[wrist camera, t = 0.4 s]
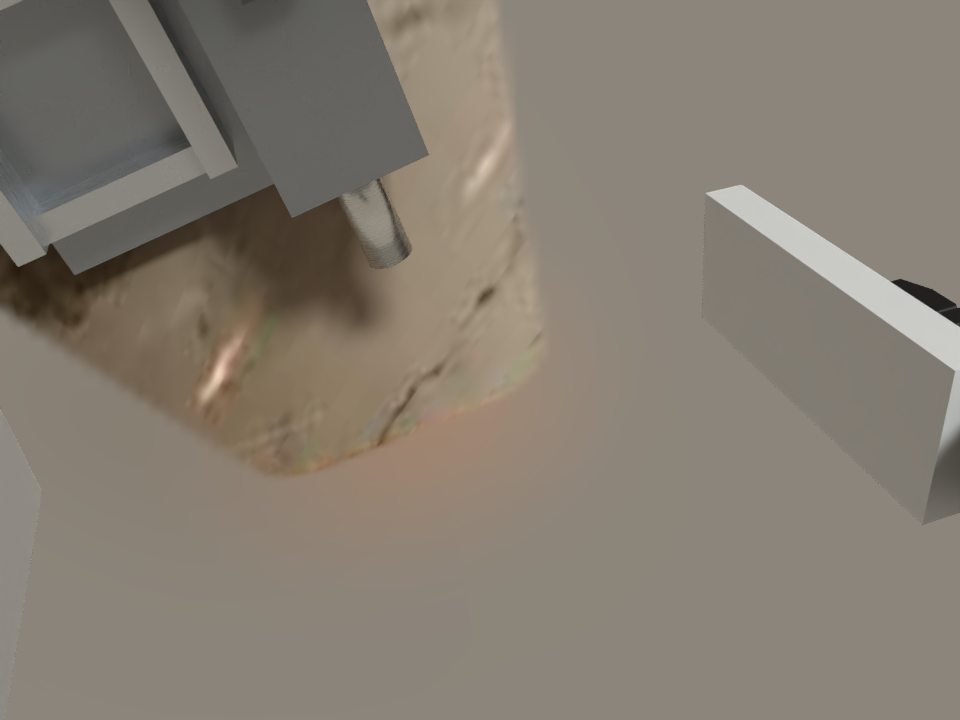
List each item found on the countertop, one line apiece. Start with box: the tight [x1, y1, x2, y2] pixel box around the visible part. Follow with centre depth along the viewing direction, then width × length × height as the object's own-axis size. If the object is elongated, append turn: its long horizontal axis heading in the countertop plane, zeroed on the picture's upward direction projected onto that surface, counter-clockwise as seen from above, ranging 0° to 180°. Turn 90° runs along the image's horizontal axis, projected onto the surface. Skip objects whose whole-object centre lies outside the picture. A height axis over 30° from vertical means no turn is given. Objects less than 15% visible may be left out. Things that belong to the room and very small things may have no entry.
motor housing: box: [0, 0, 429, 275], centre depth 34 cm, size 18×17×10 cm
